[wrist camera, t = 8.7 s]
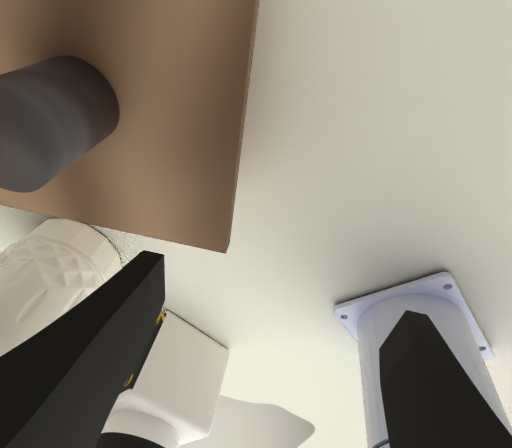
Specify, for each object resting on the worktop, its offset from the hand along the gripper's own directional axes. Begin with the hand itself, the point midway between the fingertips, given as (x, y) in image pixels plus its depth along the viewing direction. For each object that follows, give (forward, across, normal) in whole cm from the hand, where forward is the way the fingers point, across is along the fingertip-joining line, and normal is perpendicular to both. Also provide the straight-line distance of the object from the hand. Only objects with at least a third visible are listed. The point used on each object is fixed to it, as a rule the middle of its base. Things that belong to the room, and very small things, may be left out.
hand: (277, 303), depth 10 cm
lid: (+6, +8, -3) cm, 11 cm away
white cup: (+10, +14, +11) cm, 21 cm away
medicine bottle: (+10, +6, +20) cm, 24 cm away
